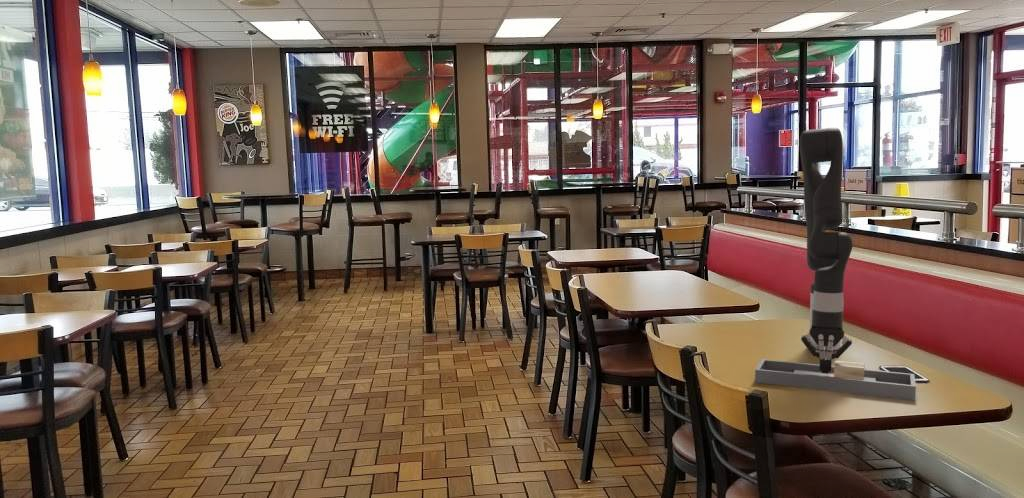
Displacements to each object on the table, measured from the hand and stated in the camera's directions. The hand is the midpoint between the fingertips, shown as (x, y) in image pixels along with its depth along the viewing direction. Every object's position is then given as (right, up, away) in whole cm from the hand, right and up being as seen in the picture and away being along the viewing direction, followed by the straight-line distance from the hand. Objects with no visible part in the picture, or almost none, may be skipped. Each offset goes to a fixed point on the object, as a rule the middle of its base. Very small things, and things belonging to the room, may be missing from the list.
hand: (825, 372), depth 205 cm
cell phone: (+25, -3, +8) cm, 26 cm away
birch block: (+5, -1, -3) cm, 6 cm away
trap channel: (+2, -3, 0) cm, 4 cm away
